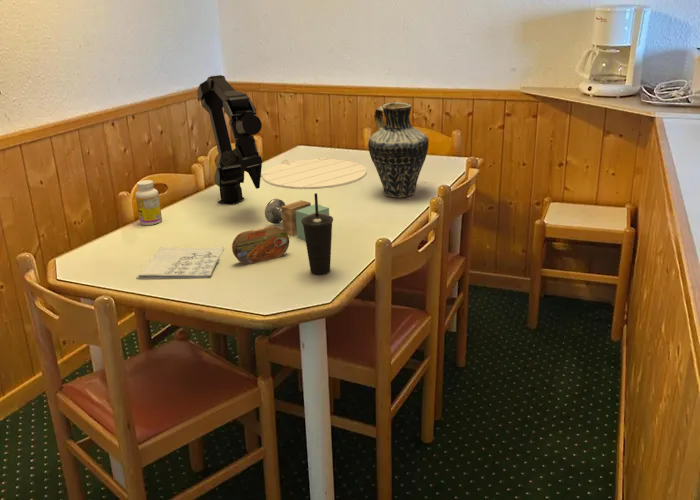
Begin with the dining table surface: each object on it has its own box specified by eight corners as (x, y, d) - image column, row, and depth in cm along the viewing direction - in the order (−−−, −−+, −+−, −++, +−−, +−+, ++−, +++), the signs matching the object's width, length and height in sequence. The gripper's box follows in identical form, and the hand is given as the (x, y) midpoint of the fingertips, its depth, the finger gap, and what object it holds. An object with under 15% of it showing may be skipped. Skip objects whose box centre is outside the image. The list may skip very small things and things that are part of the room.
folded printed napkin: (135, 281, 163) (133, 273, 162) (161, 250, 181) (159, 243, 180) (211, 280, 161) (210, 272, 161) (229, 249, 180) (228, 242, 179)
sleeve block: (283, 233, 189) (281, 206, 186) (303, 226, 194) (301, 200, 191) (292, 236, 187) (290, 209, 184) (312, 228, 192) (310, 202, 189)
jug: (440, 193, 219) (441, 102, 208) (401, 207, 207) (400, 111, 196) (393, 182, 233) (393, 96, 222) (355, 195, 221) (352, 105, 210)
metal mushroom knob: (265, 226, 194) (263, 202, 192) (284, 219, 199) (283, 196, 196) (289, 234, 187) (287, 209, 185) (308, 227, 192) (307, 202, 190)
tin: (236, 267, 167) (232, 236, 164) (232, 263, 170) (228, 232, 167) (290, 255, 174) (288, 225, 170) (286, 251, 176) (284, 221, 173)
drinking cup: (304, 266, 166) (299, 190, 159) (334, 264, 167) (331, 188, 159) (305, 278, 159) (299, 199, 152) (336, 276, 160) (332, 197, 152)
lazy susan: (240, 176, 250) (239, 167, 249) (319, 156, 274) (319, 148, 273) (306, 197, 222) (306, 187, 221) (388, 173, 246) (388, 164, 245)
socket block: (297, 237, 185) (295, 210, 182) (316, 230, 190) (315, 204, 187) (310, 242, 182) (308, 214, 179) (330, 234, 187) (328, 207, 184)
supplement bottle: (139, 220, 204) (132, 180, 199) (161, 217, 206) (155, 177, 201) (140, 227, 198) (134, 186, 193) (163, 224, 200) (157, 183, 195)
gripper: (217, 143, 203) (231, 192, 206) (216, 144, 185) (231, 197, 188) (252, 135, 205) (266, 183, 208) (255, 134, 187) (269, 188, 190)
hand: (257, 188), depth 198 cm, fingers closed
